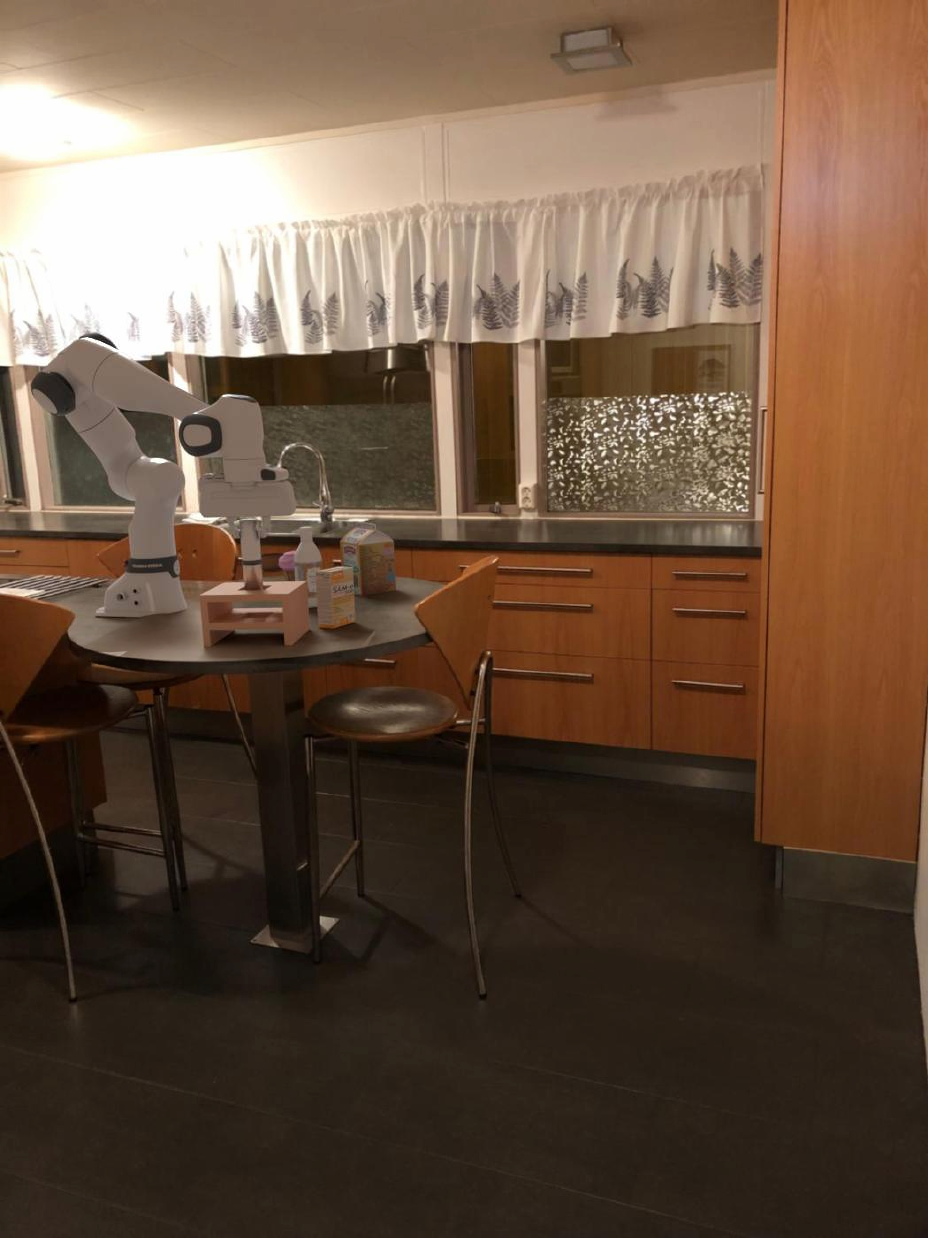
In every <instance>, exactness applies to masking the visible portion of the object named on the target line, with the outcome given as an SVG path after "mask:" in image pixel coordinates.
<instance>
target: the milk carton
mask: <svg viewBox="0 0 928 1238" xmlns="http://www.w3.org/2000/svg"><path fill="white" fill-rule="evenodd" d="M339 547H340V564H341V566H340V567H353V580H354V595H356V596H360V597H364V596H371V595H375V594H381V593H382V594H383V593H387V592H392V591H397V584H396V583H397V582H396V581H397V580H396V579H397V577H396V562H395V560H396V559H395V557H396V556H395V541H394V539H393V538H391V537H390V536H389V535H387V534H386V533H384V532H382V531H380V530H378V529H377V525H376V523H371V522H363V521H356V522H355V527H354V528H352V529H350V530H349V532H347V533H346V534H345V535H343V537H342V538H341V539H340V541H339Z"/></svg>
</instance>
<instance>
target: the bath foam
mask: <svg viewBox="0 0 928 1238" xmlns="http://www.w3.org/2000/svg"><path fill="white" fill-rule="evenodd" d="M299 535H300V543H299V545H298V547H297V548H296V550H295V551H296V552H295V556H294V569H295V581H307V592H308V607H309V609H312V608H313V607H314V608H317V591H316V575H315V571H320V570H324V569H323V559H322V555H321V554H322V553H321V552H320V550H319V548H318V547H317V545H316V544H315V542H314V541H313V527H312V526H301V527H299Z"/></svg>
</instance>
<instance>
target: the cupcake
mask: <svg viewBox="0 0 928 1238" xmlns="http://www.w3.org/2000/svg"><path fill="white" fill-rule="evenodd" d="M295 552H296V550H291V551H287V552H286V551H285V552H284V554H283V556H281V557H280V559H279V566H280V567H281V568H282V569H283V571H282V572H283V577H284V581H295V569H294V556H295Z"/></svg>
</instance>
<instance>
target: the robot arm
mask: <svg viewBox="0 0 928 1238" xmlns="http://www.w3.org/2000/svg"><path fill="white" fill-rule="evenodd" d="M30 391H31V395H32V396H33V398H34V399H35V401H36V402H37V404H38V405H39V406H40V407H41V408H42V409H44V410H45V411H46V412H48V413H49V414H51V415H53V416H58V417H64V416H65V418H66V420H67V421H68V422H69V424H70V425H71V426H72V428H73V429H74V430H75V432H76V433H77V434H78V435H79V436H80V437H81V438H82V440H83V441H84V442H85V443H86V444H87V446H88V447H89V448H90V450H91V451H92V452H93V453H94V454H95V456H96V458H97V459H98V460H99V462H100V463H101V466H102V467H103V469H104V470H105V473H106V475H107V479H108V480H107V481H108V482H107V483H108V486H109V488H110V489H111V490H112V492H113V493H115V494H116V495H117V496H119V497H121V498H123V499H125V500H127V501H131V502H134V511H133V517H132V520H131V521H130V523H129V525H128V527H127V533H128V540H129V541H128V543H129V550H130V552H129V553H130V556H129V558H127V559H126V560H124V561H123V562H121V564H122V565H121V567H124V568H125V570H124V571H125V572H124V573H123V574H122V575H121V576H120V577H119V578H117V579H116V580H115V581H114V582H113V583H112V584H111V585H109V586H108V588H106V591H105V593H104V599H103V602H104V603H103V606H102V607H99V608H98V609H96V610H95V616H96V617H115V618H116V617H117V618H122V617H123V618H124V617H125V618H142V617H146V616H151V615H157V614H174V613H178V612H182V611H185V610H187V609H188V604H187V603H186V600H185V596H184V594H183V590H182V586H181V582H180V580H181V579H180V573H181V571H180V561H179V556H178V554H177V552H176V539H175V537H176V536H175V515H176V510H177V505H178V501H179V498H180V496H181V495H182V494H183V493H184V490H185V488H186V475H185V472H184V471H183V469H182V468H181V467H180V466H179V465H178V464H176V463H175V462H173V461H171V460H168V459H165V458H162V457H148V456H147V455H146V454H145V453H144V452H143V451H142V450H141V448H140V445H139V443H138V441H137V440H136V429H135V428H134V427H133V426H132V424H131V423H130V422H129V421H128V420H127V418H126V417H125V416H124V414H123V413H122V412H121V411H120V409H122V410H125V411H131V412H144V413H156V414H161V415H166V416H169V417H171V418H175V419H176V420H179V421H180V425H179V427H178V439H179V443H180V445H181V447H182V449H183V450H184V451H185V453H187V454H188V455H189V456H191V457H195V458H201V459H205V458H222V463H223V464H222V465H223V466H222V467H223V473H205V474H203V475H202V476H200V478H199V479H198V483H197V484H198V490H199V491H198V492H199V493H200V497H199V513H200V515H201V516H202V518H204V519H208V518H211V519H213V518H214V519H215V518H226V523H227V525H228V526H229V528H230V529H231V531H232V538H233V539H241V538H240V528H238V527H237V525H236V524H235V522H237V518H247V517H248V518H249V517H250V518H251V517H253V518H254V517H256V518H257V517H258V518H259V517H261V522H263V524H262V526H261V528H259V529H258V530H257V532H258V538H260V539H264V538H267V536H268V535H267V534H268V533H267V529H268V527H269V525H270V523H271V521H272V517H289V516H293V515H294V513H295V512H296V511H297V504H296V497H295V492H294V487H293V485H292V483H291V482H290V481H289V480H287V479H289V477H290V476H289V471H288V469H287V468H283V467H279V466H277V465H273V464H270V463H267V461H266V454H265V452H264V447H263V444H264V437H265V436H264V435H265V434H264V423H263V417H262V411H261V407H260V404H259V402H258V401H257V399H255V398H254V397H252V396H248V395H242V394H235V393H226V394H222V395H221V396H220V397H219V399H218V400H216V401H215V402H213V404H209V403H208V402H206V401H204V400H202V399H201V398H199V397H197V396H195V395H194V394H191V393H189V392H187V391H186V390H184V389H182V388H180V387H178V386H176V385H174V384H172V383H171V382H169V381H168V380H166V379H165V378H163V377H162V376H159V375H158V374H157V373H155V372H153V371H152V370H150V369H148V368H147V367H146V366H144V365H142V364H141V363H139V362H138V361H136V360H135V359H133V358H132V357H130V356H128V355H127V354H126V353H124V352H122V351H120V350H119V349H118V347H117V346H116V344H115V343H114V342H113V341H112V340H111V339H110V338H109V337H108V336H106V335H105V334H103V333H100V332H97V331H89V332H87V333H84V334H83V335H81V336H79V338H77V339H75V340H73V341H72V343H70V344H69V345H68V346H66V347H65V348H64V349H62V350H60V352H58V353H57V355H56V356H55V357H54V358H53V359H52V360H51V361H50V362H49V363H47V365H46V366H45V367H44V368H43V369H42V370H41V371H39V372H37V374H36V375H35V376H34V377H33V379H31V382H30Z"/></svg>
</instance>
